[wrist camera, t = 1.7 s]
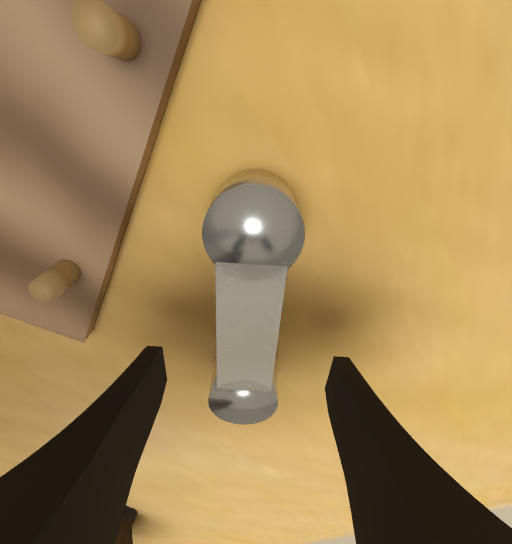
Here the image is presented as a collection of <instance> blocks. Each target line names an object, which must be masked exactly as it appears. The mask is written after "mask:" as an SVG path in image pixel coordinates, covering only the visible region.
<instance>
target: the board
mask: <svg viewBox="0 0 512 544" xmlns="http://www.w3.org/2000/svg"><path fill="white" fill-rule="evenodd" d="M200 2H201V0H0V313H1V314H4V315H6V316H9V317H12V318H15V319H18V320H21V321H24V322H26V323H29V324H32V325H35V326H38V327H41V328H43V329H46V330H49V331H52V332H55V333H58V334H60V335H63V336H66V337H69V338H72V339H75V340H78V341H80V342H83V343H84V341H85V340H86V339H87V337H88V336H89V335H90V333H91V332H92V330H93V327H94V324H95V321H96V318H97V315H98V312H99V309H100V306H101V303H102V300H103V297H104V294H105V291H106V288H107V285H108V282H109V279H110V275H111V272H112V269H113V266H114V263H115V260H116V257H117V254H118V251H119V248H120V245H121V242H122V239H123V236H124V233H125V230H126V227H127V224H128V221H129V218H130V215H131V212H132V209H133V206H134V202H135V199H136V196H137V193H138V190H139V187H140V184H141V181H142V178H143V175H144V172H145V169H146V166H147V163H148V160H149V157H150V154H151V151H152V148H153V145H154V142H155V139H156V136H157V132H158V129H159V126H160V123H161V120H162V117H163V114H164V111H165V108H166V105H167V102H168V99H169V96H170V93H171V90H172V87H173V84H174V81H175V78H176V75H177V72H178V69H179V66H180V63H181V59H182V56H183V53H184V50H185V47H186V44H187V41H188V38H189V35H190V32H191V29H192V26H193V23H194V20H195V17H196V14H197V11H198V8H199V5H200Z"/></svg>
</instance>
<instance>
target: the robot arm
mask: <svg viewBox="0 0 512 544" xmlns="http://www.w3.org/2000/svg"><path fill="white" fill-rule="evenodd" d="M166 382H167V376H166V369H165V362H164V355H163V348H162V347H157V346H147V347H146V348H145V349H144V350H143V351H142V352H141V353H140V354H139V355H138V357H137V358H136V359H135V360H134V361H133V362H132V363H131V364H130V366H129V367H128V368H127V369H126V370H125V371H124V372H123V373H122V374H121V375H120V376H119V377H118V378H117V379H116V381H115V382H114V383H113V384H112V385H111V386H110V387H109V388H108V389H107V390H106V391H105V392H104V393H103V394H102V395H101V396H100V397H99V398H98V399H97V400H96V401H94V402H93V403H92V404H91V405H90V406H89V407H88V408H87V409H86V410H85V411H84V412H83V413H82V414H81V415H79V416H78V417H77V418H76V419H75V420H74V421H73V422H72V423H70V424H69V425H68V426H67V427H66V428H65V429H63V430H62V431H61V432H60V433H59V434H57V435H56V436H55V437H54V438H52V439H51V440H50V441H49V442H47V443H46V444H45V445H43V446H42V447H41V448H40V449H38V450H37V451H36V452H35V453H33V454H32V455H31V456H29V457H28V458H27V459H25V460H24V461H23V462H21V463H20V464H18V465H17V466H15V467H14V468H13V469H11V470H10V471H8V472H7V473H6V474H4V475H3V476H1V477H0V544H115V543H116V539H117V535H118V531H119V528H120V524H121V520H122V517H123V513H124V509H125V506H126V502H127V499H128V495H129V492H130V488H131V485H132V481H133V478H134V475H135V472H136V469H137V466H138V463H139V460H140V458H141V455H142V452H143V450H144V447H145V445H146V442H147V439H148V437H149V434H150V431H151V429H152V426H153V424H154V421H155V418H156V416H157V413H158V410H159V408H160V405H161V401H162V398H163V394H164V390H165V386H166ZM325 392H326V400H327V407H328V413H329V417H330V421H331V425H332V429H333V433H334V437H335V441H336V445H337V448H338V452H339V456H340V460H341V464H342V468H343V471H344V476H345V480H346V485H347V491H348V496H349V502H350V508H351V514H352V520H353V527H354V533H355V539H356V544H512V528H511V527H509V526H508V525H507V524H506V523H504V522H503V521H502V520H500V519H499V518H498V517H497V516H496V515H494V514H493V513H492V512H491V511H490V510H488V509H487V508H486V507H485V506H484V505H483V504H481V503H480V502H479V501H478V500H477V499H475V498H474V497H473V496H472V495H471V494H470V493H469V492H467V491H466V490H465V489H464V488H463V487H462V486H461V485H460V484H459V483H458V482H457V481H455V480H454V479H453V478H452V477H451V476H450V475H449V474H448V473H447V472H446V471H445V470H444V469H442V468H441V467H440V466H439V465H438V464H437V463H436V462H435V461H434V460H433V459H432V458H431V457H430V456H429V455H428V454H427V453H426V452H425V451H424V450H423V449H422V448H421V447H420V446H419V445H418V443H417V442H416V441H415V440H414V439H413V438H412V437H411V436H410V435H409V434H408V433H407V431H406V430H405V429H404V428H403V427H402V426H401V425H400V423H399V422H398V421H397V420H396V419H395V418H394V416H393V415H392V414H391V413H390V412H389V410H388V409H387V408H386V407H385V405H384V404H383V403H382V402H381V400H380V399H379V398H378V396H377V395H376V394H375V393H374V391H373V390H372V389H371V387H370V386H369V385H368V383H367V382H366V381H365V379H364V378H363V376H362V375H361V374H360V372H359V371H358V369H357V368H356V367H355V365H354V364H353V362H352V361H351V360H350V358H349V357H335V356H334V358H333V362H332V365H331V369H330V372H329V376H328V379H327V383H326V387H325Z"/></svg>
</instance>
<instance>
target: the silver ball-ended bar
mask: <svg viewBox="0 0 512 544" xmlns="http://www.w3.org/2000/svg"><path fill="white" fill-rule="evenodd" d="M202 237H203V243H204V247H205V249H206V252H207V254H208V255H209V257H210V259H211V260H212V261H213V263H214V264H215V270H216V354H217V355H216V360H215V366H214V371H213V377H212V383H211V388H210V394H209V401H208V403H209V407H210V409H211V411H212V412H213V413H214V414H215V415H216V416H217V417H219V418H221V419H222V420H225V421H227V422H231V423H235V424H254V423H258V422H261V421H264V420H266V419H268V418H269V417H270V416H272V415H273V414H274V412H275V411H276V409H277V406H278V399H277V383H276V367H275V357H276V350H277V343H278V335H279V328H280V321H281V313H282V306H283V299H284V292H285V284H286V277H287V270H288V268H289V267H290V266H291V265H292V264H293V263H294V262H295V261H296V259H297V258H298V256H299V254H300V253H301V250H302V248H303V244H304V238H305V229H304V223H303V220H302V217H301V214H300V212H299V209H298V206H297V204H296V201H295V199H294V196H293V194H292V192H291V190H290V188H289V187H288V185H287V184H286V183H285V182H284V181H283V180H282V179H281V178H280V177H279V176H277V175H275V174H274V173H271V172H269V171H266V170H261V169H248V170H244V171H240V172H238V173H236V174H234V175H232V176H231V177H229V178H228V179H227V180H226V181H225V182H224V183H223V184H222V186H221V187H220V188H219V190H218V192H217V194H216V196H215V198H214V200H213V202H212V204H211V206H210V208H209V210H208V212H207V214H206V216H205V219H204V222H203V228H202Z"/></svg>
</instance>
